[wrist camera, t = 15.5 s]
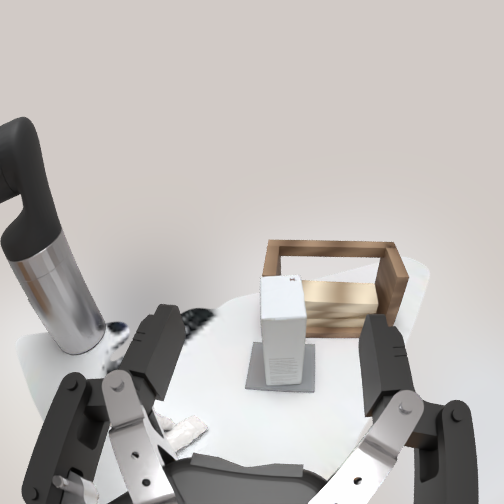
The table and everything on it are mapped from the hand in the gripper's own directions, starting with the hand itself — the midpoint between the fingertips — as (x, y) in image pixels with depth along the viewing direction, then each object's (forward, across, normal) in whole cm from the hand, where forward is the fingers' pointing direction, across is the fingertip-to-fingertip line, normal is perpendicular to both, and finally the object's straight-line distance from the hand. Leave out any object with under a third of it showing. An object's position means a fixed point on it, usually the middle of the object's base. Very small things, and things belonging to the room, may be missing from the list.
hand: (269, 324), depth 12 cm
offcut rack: (+20, -6, +22) cm, 30 cm away
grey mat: (+12, 0, +22) cm, 25 cm away
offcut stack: (+20, -6, +21) cm, 29 cm away
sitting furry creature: (0, +13, +22) cm, 25 cm away
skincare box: (+12, 0, +22) cm, 25 cm away
